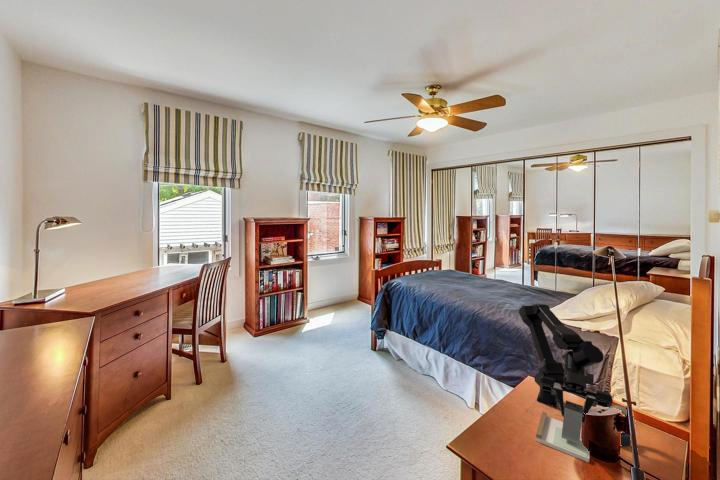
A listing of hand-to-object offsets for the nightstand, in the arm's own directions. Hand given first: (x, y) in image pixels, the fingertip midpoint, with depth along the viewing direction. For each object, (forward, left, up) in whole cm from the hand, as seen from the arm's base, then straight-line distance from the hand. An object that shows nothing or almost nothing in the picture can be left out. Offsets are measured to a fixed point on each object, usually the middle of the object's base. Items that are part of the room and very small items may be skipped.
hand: (572, 419), depth 95 cm
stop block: (-1, 0, -7) cm, 7 cm away
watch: (-13, +11, -9) cm, 20 cm away
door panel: (-3, -2, -9) cm, 10 cm away
